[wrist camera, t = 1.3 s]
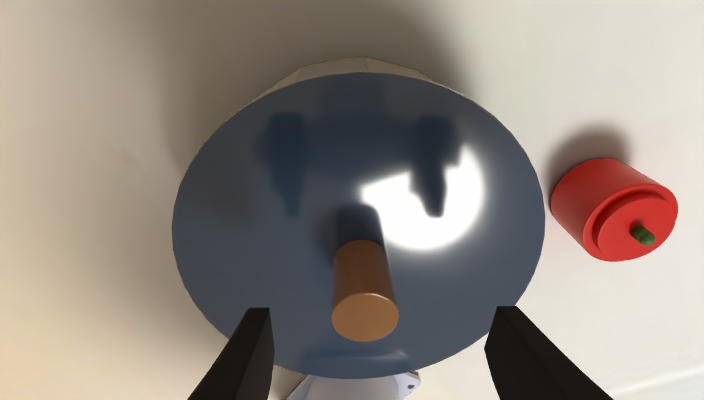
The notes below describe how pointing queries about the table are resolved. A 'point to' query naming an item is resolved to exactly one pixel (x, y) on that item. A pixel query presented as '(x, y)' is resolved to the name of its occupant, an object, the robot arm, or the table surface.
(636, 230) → the red pepper
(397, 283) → the lid
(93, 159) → the table surface
